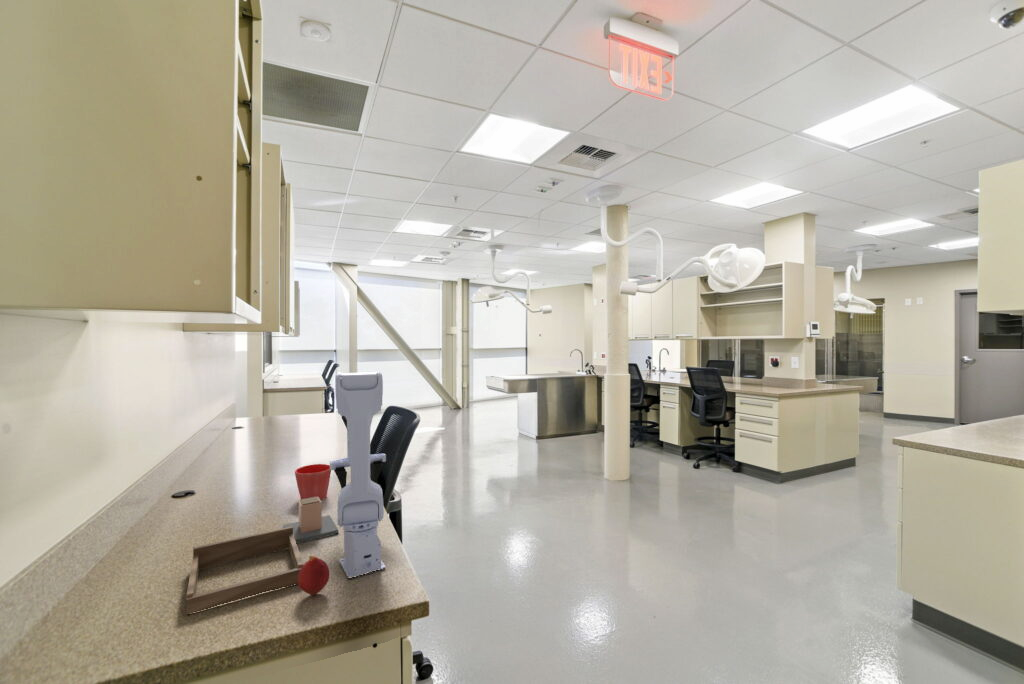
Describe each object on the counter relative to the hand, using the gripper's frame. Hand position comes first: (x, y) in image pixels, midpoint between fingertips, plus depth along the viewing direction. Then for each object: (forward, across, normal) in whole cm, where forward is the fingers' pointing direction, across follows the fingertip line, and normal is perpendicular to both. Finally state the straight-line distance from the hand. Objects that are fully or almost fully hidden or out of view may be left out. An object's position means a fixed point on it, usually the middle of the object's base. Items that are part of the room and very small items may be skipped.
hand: (359, 491), depth 119 cm
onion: (+10, +16, +27) cm, 33 cm away
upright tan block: (+9, +12, -6) cm, 16 cm away
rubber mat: (+10, +12, -6) cm, 16 cm away
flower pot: (+10, +6, -32) cm, 35 cm away
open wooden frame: (+10, +27, +11) cm, 31 cm away
